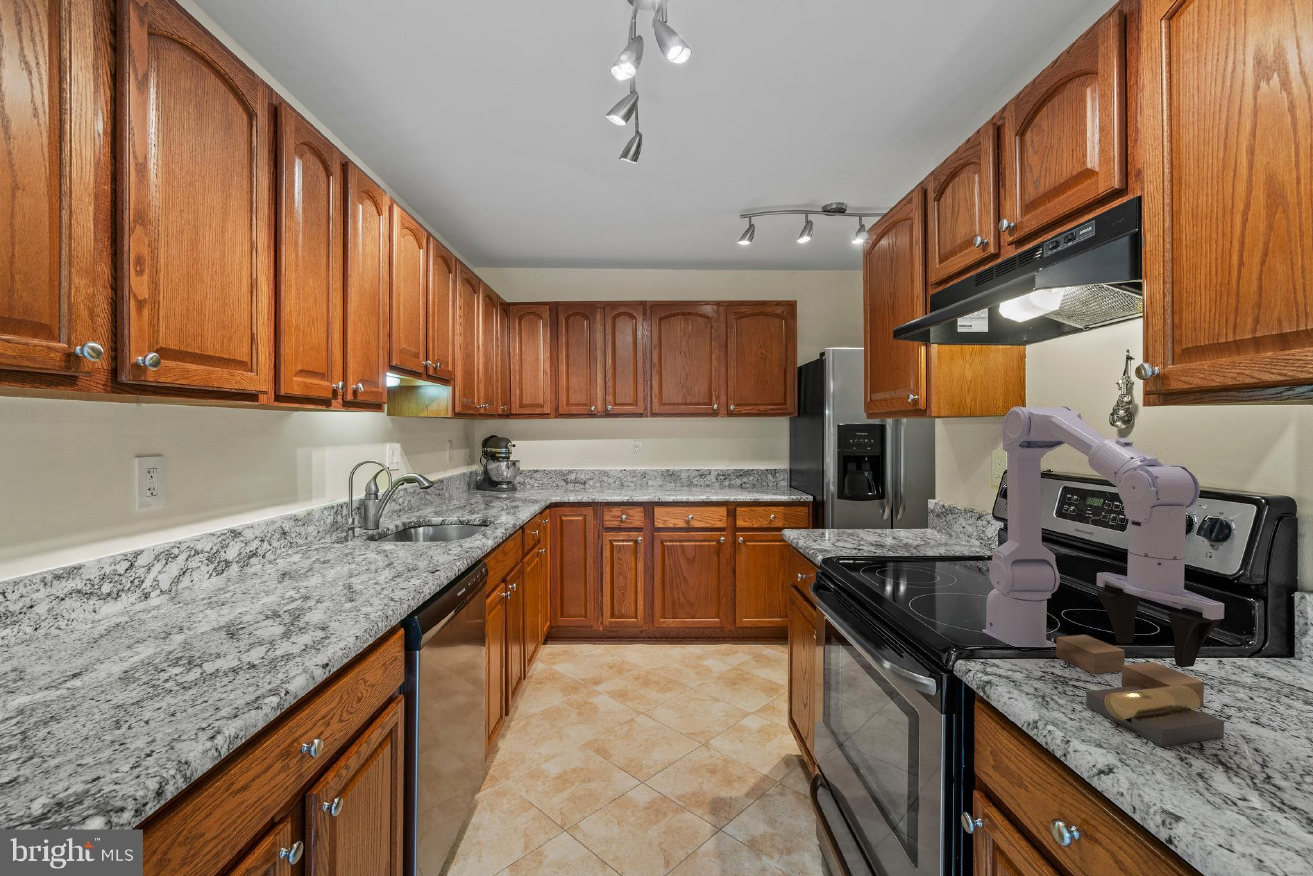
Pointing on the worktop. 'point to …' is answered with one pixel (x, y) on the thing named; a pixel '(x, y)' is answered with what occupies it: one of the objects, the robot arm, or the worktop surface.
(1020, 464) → the robot arm
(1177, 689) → the axle
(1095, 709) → the v block
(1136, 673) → the beam
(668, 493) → the worktop surface
